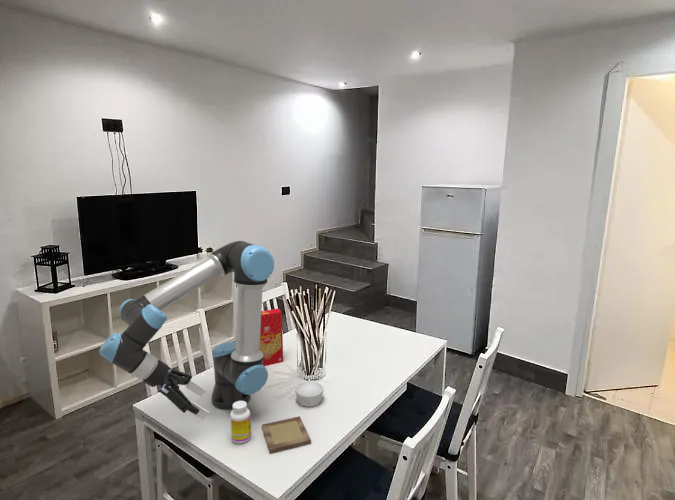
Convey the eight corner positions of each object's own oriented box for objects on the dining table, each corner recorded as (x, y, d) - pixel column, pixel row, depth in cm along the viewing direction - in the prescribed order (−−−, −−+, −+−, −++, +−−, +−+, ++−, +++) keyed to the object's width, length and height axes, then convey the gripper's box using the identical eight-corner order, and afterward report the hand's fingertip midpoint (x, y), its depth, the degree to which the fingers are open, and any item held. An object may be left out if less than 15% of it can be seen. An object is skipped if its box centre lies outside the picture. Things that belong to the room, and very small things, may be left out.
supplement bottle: (252, 442, 140) (250, 408, 137) (232, 446, 138) (230, 412, 135) (249, 430, 146) (248, 397, 143) (230, 434, 144) (228, 401, 141)
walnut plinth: (261, 428, 147) (261, 424, 147) (299, 419, 152) (299, 416, 152) (269, 453, 134) (269, 449, 134) (311, 443, 139) (310, 439, 139)
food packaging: (252, 368, 189) (250, 317, 184) (249, 364, 194) (247, 313, 188) (283, 361, 196) (281, 312, 191) (279, 357, 200) (277, 308, 195)
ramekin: (303, 390, 171) (302, 379, 170) (327, 396, 167) (327, 384, 166) (290, 405, 161) (290, 392, 160) (316, 411, 157) (316, 398, 156)
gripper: (144, 361, 137) (195, 393, 146) (137, 401, 114) (198, 436, 123) (160, 344, 138) (210, 376, 146) (156, 380, 115) (216, 416, 124)
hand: (205, 404), depth 135 cm, fingers open, 13 cm apart
